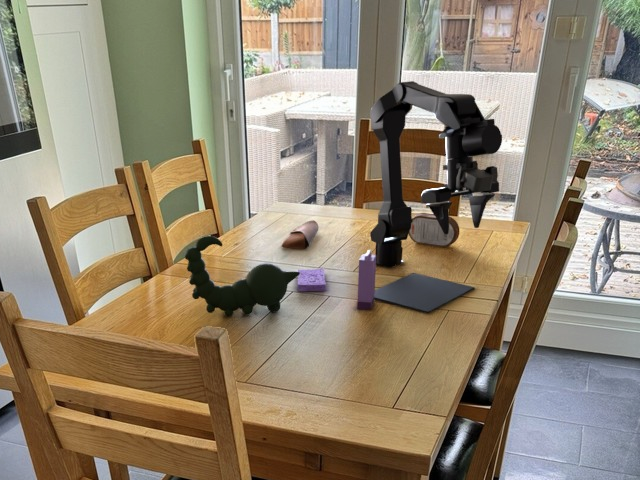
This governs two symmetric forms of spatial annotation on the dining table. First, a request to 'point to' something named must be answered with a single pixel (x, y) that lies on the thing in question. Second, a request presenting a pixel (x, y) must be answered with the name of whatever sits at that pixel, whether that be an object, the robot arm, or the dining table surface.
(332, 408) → the dining table surface
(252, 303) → the toy figurine
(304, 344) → the dining table surface
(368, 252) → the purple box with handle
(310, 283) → the sponge
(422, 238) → the tin
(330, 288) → the dining table surface
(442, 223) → the robot arm
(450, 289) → the placemat
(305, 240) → the sunglasses case
